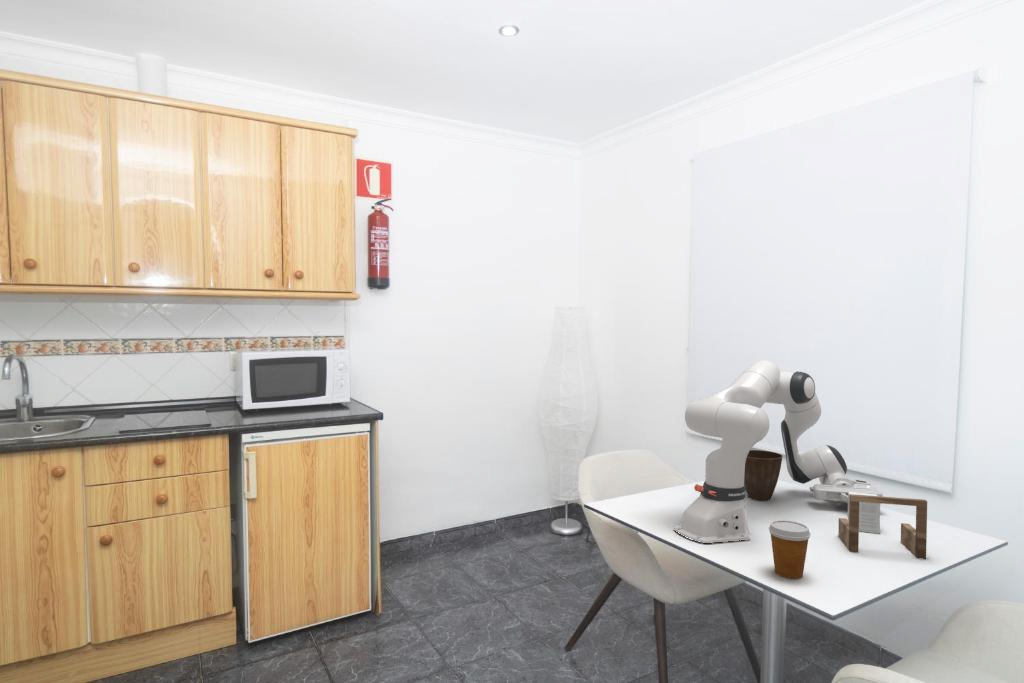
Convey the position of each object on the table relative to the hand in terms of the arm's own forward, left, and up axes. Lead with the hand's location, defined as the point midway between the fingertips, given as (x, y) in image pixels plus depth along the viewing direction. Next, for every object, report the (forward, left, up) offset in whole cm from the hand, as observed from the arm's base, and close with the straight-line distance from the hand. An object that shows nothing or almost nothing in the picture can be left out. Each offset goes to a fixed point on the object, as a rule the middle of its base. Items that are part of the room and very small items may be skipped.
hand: (853, 500), depth 187 cm
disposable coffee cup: (-55, -22, -6) cm, 59 cm away
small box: (-7, -9, -6) cm, 13 cm away
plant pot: (-11, +28, -6) cm, 31 cm away
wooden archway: (-17, -20, -5) cm, 27 cm away
